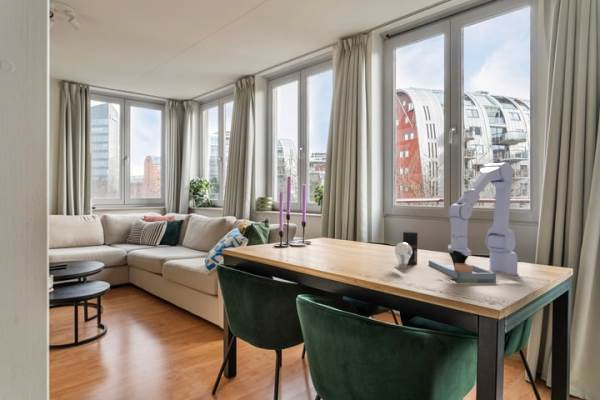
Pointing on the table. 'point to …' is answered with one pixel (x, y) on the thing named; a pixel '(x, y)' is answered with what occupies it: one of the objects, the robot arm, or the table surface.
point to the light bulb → (403, 254)
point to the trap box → (466, 274)
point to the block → (463, 268)
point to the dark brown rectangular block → (412, 241)
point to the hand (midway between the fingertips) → (458, 271)
